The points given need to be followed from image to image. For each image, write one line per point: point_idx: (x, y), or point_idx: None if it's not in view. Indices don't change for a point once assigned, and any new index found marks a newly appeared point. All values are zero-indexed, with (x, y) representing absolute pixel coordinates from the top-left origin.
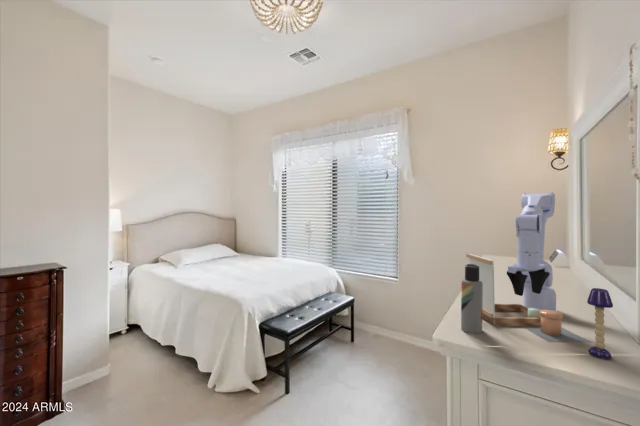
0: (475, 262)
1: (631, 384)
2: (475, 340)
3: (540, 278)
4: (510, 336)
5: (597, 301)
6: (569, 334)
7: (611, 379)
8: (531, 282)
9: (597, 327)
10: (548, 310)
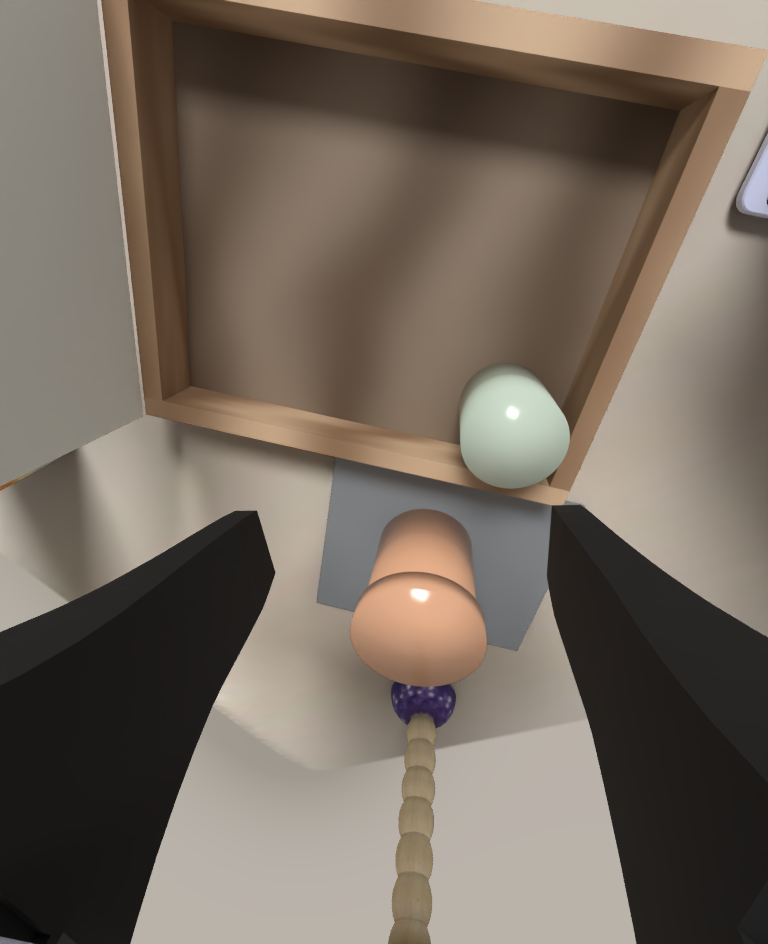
0: None
1: (328, 767)
2: (11, 505)
3: (628, 838)
4: (193, 512)
5: None
6: (508, 582)
7: (300, 748)
8: (605, 583)
9: (399, 816)
10: (444, 614)
